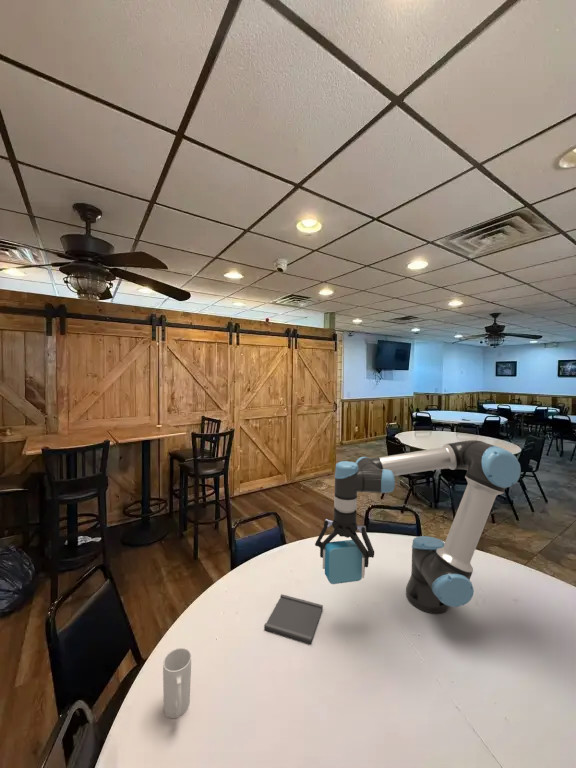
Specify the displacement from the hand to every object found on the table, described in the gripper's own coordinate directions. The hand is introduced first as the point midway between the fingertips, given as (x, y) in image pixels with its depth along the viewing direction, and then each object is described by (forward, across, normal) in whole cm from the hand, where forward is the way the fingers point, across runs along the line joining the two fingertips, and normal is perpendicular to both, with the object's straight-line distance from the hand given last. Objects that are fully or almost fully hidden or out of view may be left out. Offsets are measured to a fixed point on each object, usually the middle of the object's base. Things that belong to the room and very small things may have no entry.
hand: (343, 571), depth 108 cm
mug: (+19, +34, +43) cm, 58 cm away
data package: (+3, 0, 0) cm, 3 cm away
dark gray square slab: (+18, +16, +4) cm, 25 cm away
